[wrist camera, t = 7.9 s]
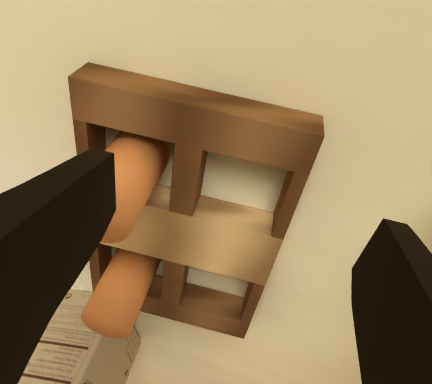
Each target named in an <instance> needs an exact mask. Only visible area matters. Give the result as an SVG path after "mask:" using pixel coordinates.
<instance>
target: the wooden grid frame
mask: <svg viewBox="0 0 432 384" xmlns="http://www.w3.org/2000/svg"><path fill="white" fill-rule="evenodd" d="M68 82H69V91H70V99H71V108H72V116H73V125H74V134H75V142H76V151H77V155H79V154H81V153H83V152H85V151H87V150H89V149H91V148H95V149H99V150H103V151H105V149H106V143H105V127H109V128H113V129H117V130H121V131H125V132H129V133H134V134H138V135H142V136H146V137H150V138H155V139H159V140H163V141H167V142H171V143H175V148H174V159H173V170H172V181H171V188H168V187H164V186H160V185H156V186H155V188H154V189H153V191H152V193H151V195H150V197H149V199H148V201H147V203H146V205H145V206H144V208H143V210H142V212H141V214H140V216H139V218H138V220H137V221H136V223H135V225H134V227H133V229H132V231H131V233H130V234H129V236H128V237H127V238H126V239H125V240H123V241H121V242H117V243H103V242H100V244H99V245H98V247H97V248H96V250H95V251H94V253H93V255H92V256H91V258H90V259H89V262H90V270H91V279H92V287H93V292H94V290H95V288H96V286H97V284H98V283H99V281H100V279H101V277H102V275H103V274H104V272H105V270H106V268H107V266H108V265H109V263H110V261H111V259H112V253H111V246H112V247H116V248H120V249H124V250H128V251H132V252H136V253H139V254H143V255H147V256H151V257H155V258H159V259H163V260H164V269H163V277H162V276H158V275H154V278H153V280H152V282H151V285H150V287H149V290H148V292H147V294H146V297H145V299H144V302H143V304H142V307H141V309H140V311H142V312H146V313H150V314H153V315H157V316H161V317H165V318H168V319H172V320H176V321H179V322H183V323H187V324H191V325H194V326H198V327H202V328H206V329H209V330H213V331H217V332H221V333H224V334H228V335H232V336H236V337H239V338H243V339H244V337H245V334H246V332H247V329H248V327H249V324H250V322H251V319H252V317H253V314H254V312H255V309H256V307H257V304H258V302H259V299H260V297H261V294H262V292H263V289H264V287H265V284H266V282H267V279H268V277H269V274H270V272H271V269H272V267H273V264H274V262H275V259H276V257H277V254H278V252H279V249H280V247H281V244H282V242H283V239H284V237H285V234H286V232H287V229H288V227H289V224H290V221H291V219H292V216H293V214H294V211H295V209H296V206H297V204H298V201H299V199H300V196H301V194H302V191H303V189H304V186H305V184H306V181H307V179H308V176H309V174H310V171H311V169H312V166H313V164H314V161H315V159H316V156H317V154H318V151H319V149H320V146H321V144H322V141H323V139H324V124H323V116H320V115H316V114H311V113H307V112H303V111H298V110H294V109H290V108H285V107H281V106H276V105H272V104H268V103H263V102H259V101H255V100H250V99H246V98H242V97H237V96H233V95H228V94H224V93H220V92H215V91H211V90H207V89H202V88H198V87H194V86H189V85H185V84H180V83H176V82H172V81H167V80H163V79H159V78H154V77H150V76H146V75H141V74H137V73H132V72H128V71H124V70H119V69H115V68H111V67H106V66H102V65H98V64H93V63H89V62H88V63H86V64H85V65H84V66H82V67H81V68H79V69H78V70H77V71H75V72H74V73H72V74H71V75H70V76H68ZM207 151H209V152H213V153H217V154H222V155H226V156H230V157H234V158H238V159H243V160H247V161H251V162H255V163H259V164H263V165H268V166H272V167H276V168H280V169H284V170H289V171H288V174H287V176H286V179H285V182H284V185H283V188H282V191H281V194H280V196H279V199H278V202H277V205H276V208H275V211H274V213H270V212H266V211H262V210H258V209H254V208H250V207H246V206H242V205H238V204H233V203H229V202H225V201H221V200H217V199H213V198H209V197H205V196H201V195H200V194H201V188H202V181H203V175H204V169H205V163H206V157H207ZM189 266H190V267H194V268H198V269H202V270H205V271H209V272H213V273H217V274H221V275H225V276H229V277H233V278H236V279H240V280H244V281H248V282H249V285H248V288H247V291H246V294H245V297H244V298H243V297H239V296H235V295H231V294H227V293H223V292H219V291H216V290H212V289H208V288H204V287H200V286H196V285H193V284H189V283H186V280H187V274H188V268H189Z"/></svg>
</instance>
